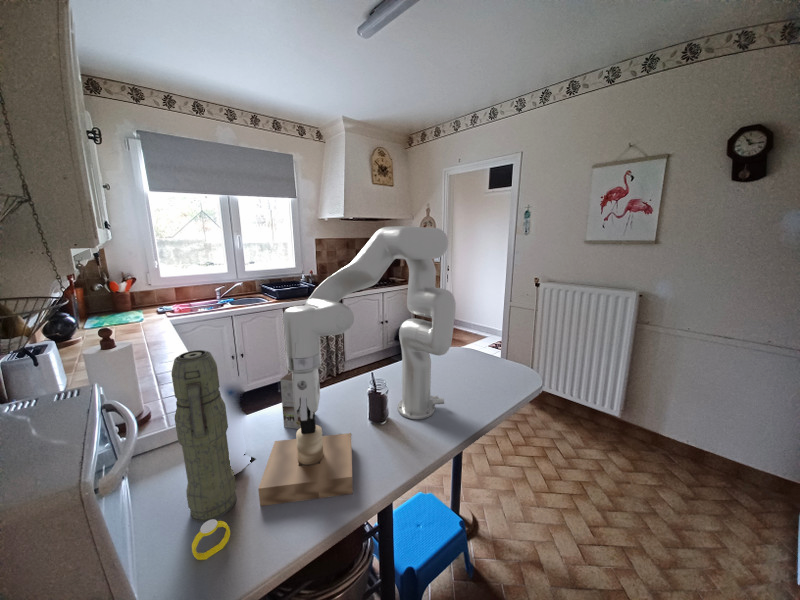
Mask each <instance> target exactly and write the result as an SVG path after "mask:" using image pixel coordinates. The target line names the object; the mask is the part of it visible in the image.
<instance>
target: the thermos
mask: <svg viewBox="0 0 800 600" xmlns="http://www.w3.org/2000/svg"><path fill="white" fill-rule="evenodd" d="M218 372H219V369H218V364H217V362H216V359H215V358H214V356H213V355H212V353H211V352H210V351H207V350H203V349H202V350H201V349H198V350H197V349H196V350H190V351H186V352H183V353H181V354H179V355H178V356H176V357H175V358H174V360H173V364H172V369H171V379H172V380H171V381H172V387H173V392H174V398H175V399H176V402H175V403H176V410H175V414H174V424H175V431H176V436H177V441H178V444H179V445H181V448H182V454H183V461H184V466H185V474H186V479H187V485H186V489H185V491H186V493H185V494H186V501H187V505H188V509H189V511H190V518H191V517H192V518H191V519H192V520H193V521H194V520H195V521H194V522H196V521H197V522H196V523H199V522H207V521H209V520H212V519H215V520H218V519H221V518H222V517H223V516H225V515H226V514H227V513H229V511H230V510H231V509H233V507H234V506H235V503H236V501H237V493H236V491H237V490H236V489H237V486H236V476H234V472H233V470H232V468H231V466H230V458H229V455H230V454H229V452H230V451H229V442H228V436H227V431H228V429H229V424H228V417H227V407H226V403H225V401H224V399H223V398H222V395H221V391H220V390H219V389H220V380H219V373H218Z"/></svg>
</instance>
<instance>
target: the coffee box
mask: <svg viewBox="0 0 800 600" xmlns="http://www.w3.org/2000/svg"><path fill="white" fill-rule="evenodd" d="M280 393H281V405H282V418H283V419H282V421H283V427H284V428H288V429H296V430H299V429H300V428H301V422H300V410H299V413H298V414H296V413H295V410H294V400H293V382H292V372H291V371H289V372H288V373H287V374H285V375H284V376H282V377H281V378H280ZM314 414H315V415H316V412H315V413H314Z"/></svg>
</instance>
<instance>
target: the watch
mask: <svg viewBox="0 0 800 600" xmlns="http://www.w3.org/2000/svg"><path fill="white" fill-rule="evenodd" d="M218 528H225V533H224V536H223V538H222V539H221V541H220V542H219V543H218V544H216V545H214V546H213V547H212V548H209V549H208V550H207V551H205V552H197V547H198V545H199V542H200V541H201V540H202V539H203V538H204V537H207V536H210V535H212V534H213V533H215V532H216V531H217V529H218ZM230 529H231V528H230V526H229V525H228V523H227V522H225V521H224V520H218V519H212V520H209V521H207V522H205V523H203V524H202V525H201V527H200V529H199V531H198V533H197V534H196V535H195V536H194V539H193V541H192V543H191V552H192V554H193V556H194V558H195V559H196V560H199V561H205V560H207V559H208V558H210V557H212V556H213V555H215V554H216V553H218V552H219V551H221V550H222V549H224V547H225V546H226V545H227V543H228V542H229V540H230V537H231V530H230Z"/></svg>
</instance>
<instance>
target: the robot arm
mask: <svg viewBox="0 0 800 600" xmlns="http://www.w3.org/2000/svg"><path fill="white" fill-rule="evenodd" d="M448 247H449V238H448V236H447V234H446V232H445V231H444V230H443V229H440V228H439V227H421V226H411V225H409V226H408V225H407V226H406V225H404V226H403V225H399V226H383V227H381V228H379V229H378V230H376V231H375V232H374V233H373V235H372V236H371V237H370V238H369V240H368V241H367V242H366V244H365V245H363V247H362V248H361V250H360V251H359V252H358V253H357V255H356V256H355V257H353V259H352V260H351V262H350V263H348V264H347V265H345V266H344V267H341V268H340V269H339V270H337V271H336V272H334V273H333V274H332V275H330V276H328V277H327V278H326V279H324V280H323V281H322V282H321V283H320V284H319V285H318V286H317V287H316V288H315V289H314V291H312V293H311V295H310V296H309V297H308V298H307V300H306V301H305V303H304V305H295V306H290V307H288V308H286V309H285V310H284V312H283V314H282V315H283V316H282V318H283V319H282V320H283V332H284V346H285V358H286V359H285V361H286V369H287V370H288V371H289V372H290V371H291V372H292V382H293V400H294V410H295V413H296V414H298V413H299V410H300V422H301V433H302V434H308V433H315V429H316V425H317V424H316V413H317V411H318V410H319V405H320V404H319V403H320V399H321V388H320V387H321V385H320V377H319V376H320V375H319V368H320V367H321V366H322V357H321V339H320V338H321V337H327V336H337V335H342V334H344V333H346V332H347V331H349V330H350V329H351V328H352V326H353V324H354V321H355V315H354V312H353V310H352V309H351V308H350V307H349V306H348V305H346V304H344V303H342V302H340V301H342V299H343V298H345V297H346V296H348V295H349V294H352V293H355V292H358V291H361V290H364V289H365V290H366V289H367V288H370V287H373V286H374V285H377V283H379V281H380V280H381V278H382V277H383V275H384V274H385V273H386V271H387V270H388V268H389V267H390V266H391V264H392V263H393V262H394V261H395V260H396V259H398V260H404V261H406V264H407V266H408V272H409V273H408V284H407V295H406V309H407V310H408V311H409V313H411V314H414V315H417V316H420V317H425V318H428V319H431V321H428V320H425V319H420V318H408V319H406V320H404V321H403V322H402V323H401V324H400V328H399V330H398V336H399V343H400V348H401V358H402V359H401V361H402V363H401V364H402V365H401V368H402V370H401V373H402V374H401V376H402V378H401V379H402V380H401V382H402V383H401V384H402V385H401V398H402V399H401V400H400V401H399V402H398V403H397V412H398V413H399V414H400V415H401V416H403V417H405V418H407V419H411V420H423V419H427V418H430V417H431V416H433V414H434V413H435V409H436V407H435V406H436V405H444V404H445V399H444V397H442V398H441V397H440V398H439V395H434V396H433V395H431V384H432V381H431V380H432V376H431V375H432V359H431V355H434V356H438V357H441V356H444V355H445V354H447V353H448V351H449V350H450V348H451V347H452V346H451V345H452V341H453V334H454V326H455V319H456V318H455V316H456V315H455V314H456V308H457V307H456V300H455V296H454V294H453V293H452V292H451V291H450V290H449V289H445V288H440V287H436V282H437V281H436V279H437V278H436V277H437V270H436V265H435V264H434V259H439V258H441V257H442V256H444V255H445V254H446V252H447V250H448ZM430 354H431V355H430ZM314 413H315V414H314Z"/></svg>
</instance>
